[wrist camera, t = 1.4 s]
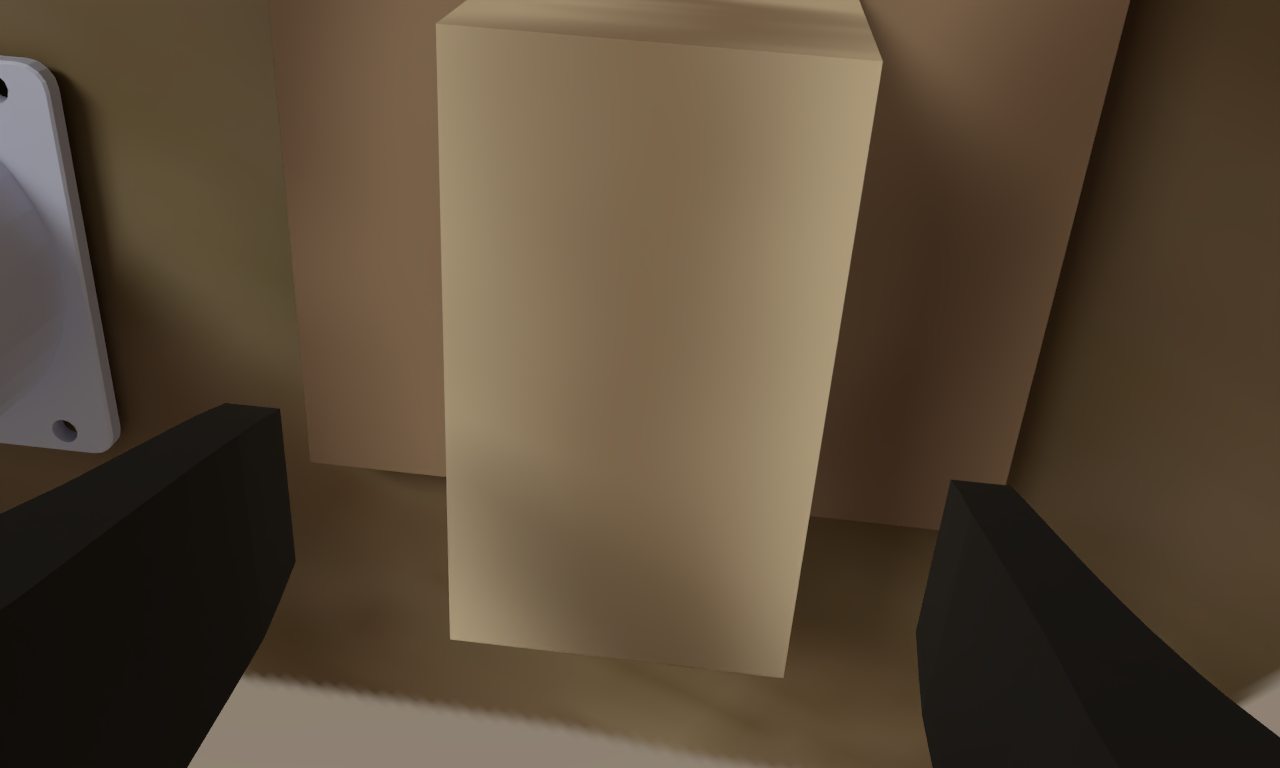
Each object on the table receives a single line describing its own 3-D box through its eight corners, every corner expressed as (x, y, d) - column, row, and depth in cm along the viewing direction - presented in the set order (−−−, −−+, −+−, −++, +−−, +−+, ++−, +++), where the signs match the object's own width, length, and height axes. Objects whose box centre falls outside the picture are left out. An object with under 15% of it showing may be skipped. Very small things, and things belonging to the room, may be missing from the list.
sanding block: (515, 462, 22) (450, 639, 17) (520, -42, 17) (435, 23, 13) (780, 490, 21) (782, 678, 17) (853, -15, 17) (882, 61, 13)
